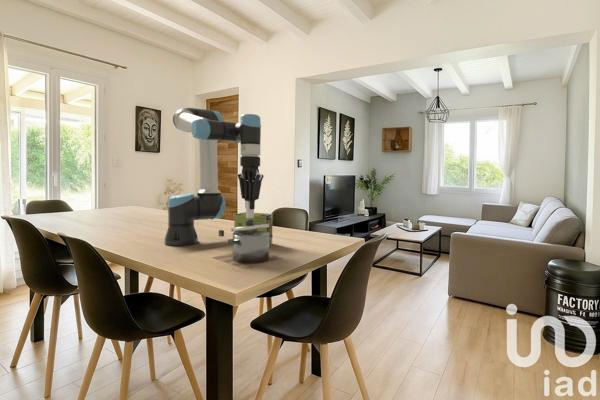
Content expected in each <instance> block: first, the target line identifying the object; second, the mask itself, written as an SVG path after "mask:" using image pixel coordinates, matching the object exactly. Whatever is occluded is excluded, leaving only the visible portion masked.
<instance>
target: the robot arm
mask: <svg viewBox="0 0 600 400" xmlns="http://www.w3.org/2000/svg"><path fill="white" fill-rule="evenodd" d="M172 123H173V125H174V127H175V128H176V129H177V130H179V131H182V132H186V133H191V135H192V137H193V138H194V139H196V140H198V142H199V143H198V144H199V145H198V146H199V149H198V151H199V187H200V188H199V189H198V191H197V192H196V196H195V195H194V193H181V194H174V195H171V196H169V198H168V200H167V215H168V217H167V219H168V220H167V221H168V222H167V223H168V224H167V225H168V226H167V230H166V233H165V236H164V245H167V246H176V247H177V246H191V245H194V244H197V243H198V242H199V237H198V234H197V231H196V228H195V221H201V220H214V219H215V220H217V219H220V218H222V217H223V215H224V214H225V211H226V198H225V196H224V195H222V193H221V191H220V190H219V181H218V179H219V178H218V177H219V176H218V174H219V173H218V171H219V169H218V141H220V142H221V141H223V142H231V143H237V144H239V145H240V155H241V156H240V159H239V161H240V162H239V165H240V166H241V168H242V169H241V173H238V174H237V178H238V182H239V188H240V195H241V198H242V199H244V201H245V212H246V218H254V213H255V208H256V207H255V204H256V200H259V198H260V193H261V187H262V182H263V179H264V174H262V173H260V170H259V167H261V157H260V156H261V137H262V136H261V130H262V124H261V116H259V115H258V114H255V113H246V114H245V113H243V114H241V115H240V121H239V122H231V121H224V117H223V116H222V114H221V113H220V111H215V110H212V109H204V108H202V109H201V108H196V107H184V108H180V109H178V110H176V111H175V112H174V114H173V115H172Z"/></svg>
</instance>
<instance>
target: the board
mask: <svg viewBox="0 0 600 400" xmlns="http://www.w3.org/2000/svg"><path fill="white" fill-rule="evenodd" d="M211 258H212V259H215V260H218V261H221V262H224V263H226V264H229V265H232V266H235V267H238V268H242V269H246V268H249V267H250V268H251V267H254V266H258V265H263V264H265V263H270V262H274V261H278V260H283V259H284V257H281V256H277V255H274V254H270V253H269V260H268V261H265V262H262V263H254V264H245V263H238V262H235V261H233V252H232V253H226V254H221V255H220V254H219V255H217V256H211Z"/></svg>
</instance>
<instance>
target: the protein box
mask: <svg viewBox="0 0 600 400" xmlns="http://www.w3.org/2000/svg"><path fill="white" fill-rule="evenodd" d="M273 216H274V213H271V212H270V213H268V212H267V213H266V212H265V213H264V212H263V213H262V212H254V218H246V211H245V212H239V213H236V214H234V222H233V223H234V225H233V226H234V227H233V228H236V227H243V226H246V221H245V220H253V222H254V225H261V224H269V227H266V228H260V229H257V230H260V231H266V232H269V234H273V220H274V218H273ZM234 232H237V231H233V233H234ZM272 244H273V237H271V238H269V246H271V245H272Z"/></svg>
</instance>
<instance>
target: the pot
mask: <svg viewBox="0 0 600 400" xmlns="http://www.w3.org/2000/svg"><path fill="white" fill-rule="evenodd" d="M218 237H220V238H221V237H225V231H224V230H222V229H219V230H218ZM271 237H272V238H273V233H272V234H269V232H266V231H260V230H257V229H252V230H243V231H237V232H234V231H233V233H232V238H228V239H227V243H228V244H231V245H232V253H233V261H235V262H238V263H245V264H254V263H262V262H265V261H268V260H269V254H270V245H269V238H271ZM262 264H263V263H262Z"/></svg>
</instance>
